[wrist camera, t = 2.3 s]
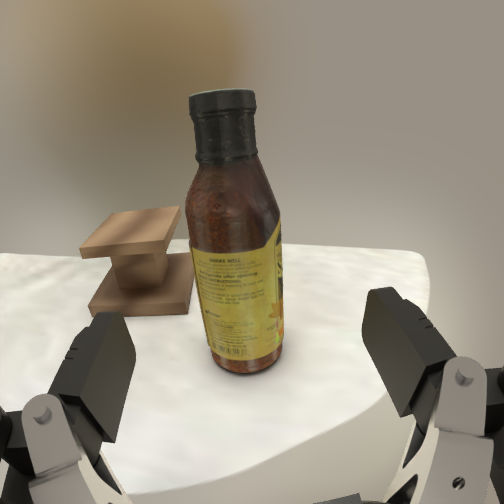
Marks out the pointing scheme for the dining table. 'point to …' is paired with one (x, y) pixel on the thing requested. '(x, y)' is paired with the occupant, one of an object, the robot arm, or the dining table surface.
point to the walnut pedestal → (140, 264)
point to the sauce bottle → (234, 234)
